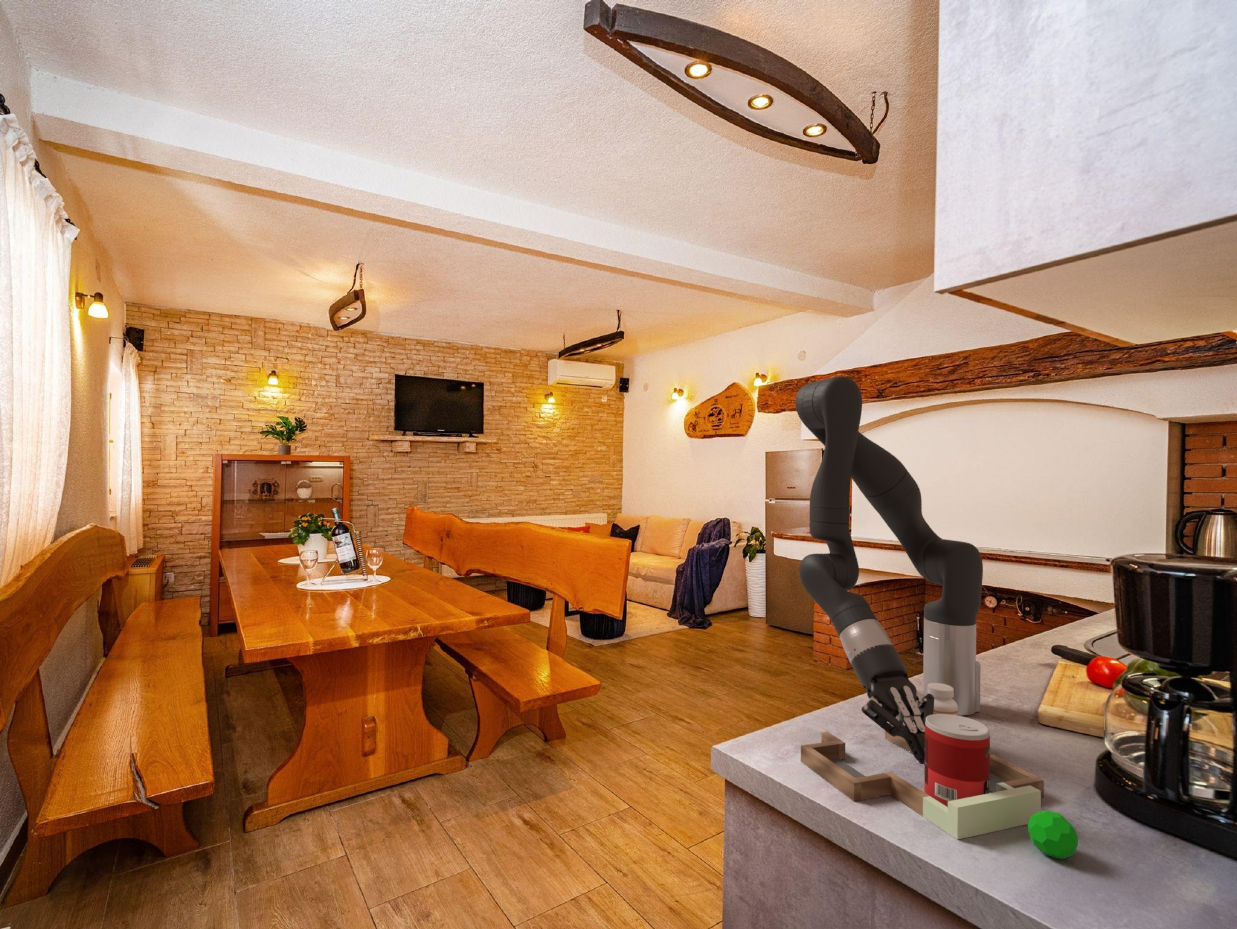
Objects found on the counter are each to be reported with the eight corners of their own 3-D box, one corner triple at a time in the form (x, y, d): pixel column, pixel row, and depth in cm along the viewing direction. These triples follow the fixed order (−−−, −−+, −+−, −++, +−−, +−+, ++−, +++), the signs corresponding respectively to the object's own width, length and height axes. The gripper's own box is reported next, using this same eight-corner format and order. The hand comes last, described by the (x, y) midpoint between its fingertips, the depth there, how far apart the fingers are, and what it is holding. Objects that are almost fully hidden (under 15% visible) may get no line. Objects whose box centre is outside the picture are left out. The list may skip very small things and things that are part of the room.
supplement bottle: (924, 734, 109) (924, 679, 109) (958, 741, 106) (959, 685, 106) (920, 745, 104) (921, 687, 104) (956, 753, 101) (957, 694, 101)
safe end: (922, 816, 82) (923, 786, 82) (1002, 800, 87) (1003, 771, 87) (957, 839, 77) (957, 807, 77) (1040, 821, 81) (1040, 790, 81)
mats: (813, 764, 96) (813, 762, 96) (934, 745, 104) (934, 743, 104) (891, 821, 81) (891, 819, 81) (1027, 794, 88) (1027, 792, 88)
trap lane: (788, 752, 100) (788, 737, 100) (919, 733, 109) (919, 719, 109) (891, 829, 79) (891, 809, 79) (1043, 797, 87) (1043, 780, 88)
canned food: (1000, 820, 81) (1000, 737, 81) (936, 815, 82) (937, 733, 82) (973, 791, 89) (974, 715, 89) (916, 786, 90) (916, 711, 90)
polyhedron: (1068, 872, 71) (1068, 830, 71) (1021, 850, 75) (1021, 811, 75) (1084, 857, 74) (1084, 817, 74) (1037, 837, 78) (1038, 799, 78)
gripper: (849, 645, 97) (906, 757, 85) (916, 639, 101) (979, 746, 89) (827, 668, 102) (878, 777, 90) (892, 662, 106) (948, 765, 94)
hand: (928, 761), depth 90 cm, fingers closed
